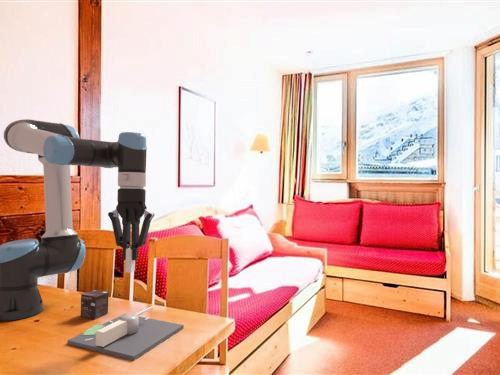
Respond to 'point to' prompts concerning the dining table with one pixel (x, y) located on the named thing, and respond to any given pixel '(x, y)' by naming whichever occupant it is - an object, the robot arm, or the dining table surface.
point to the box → (94, 304)
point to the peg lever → (119, 328)
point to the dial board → (129, 338)
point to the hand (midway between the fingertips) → (130, 271)
